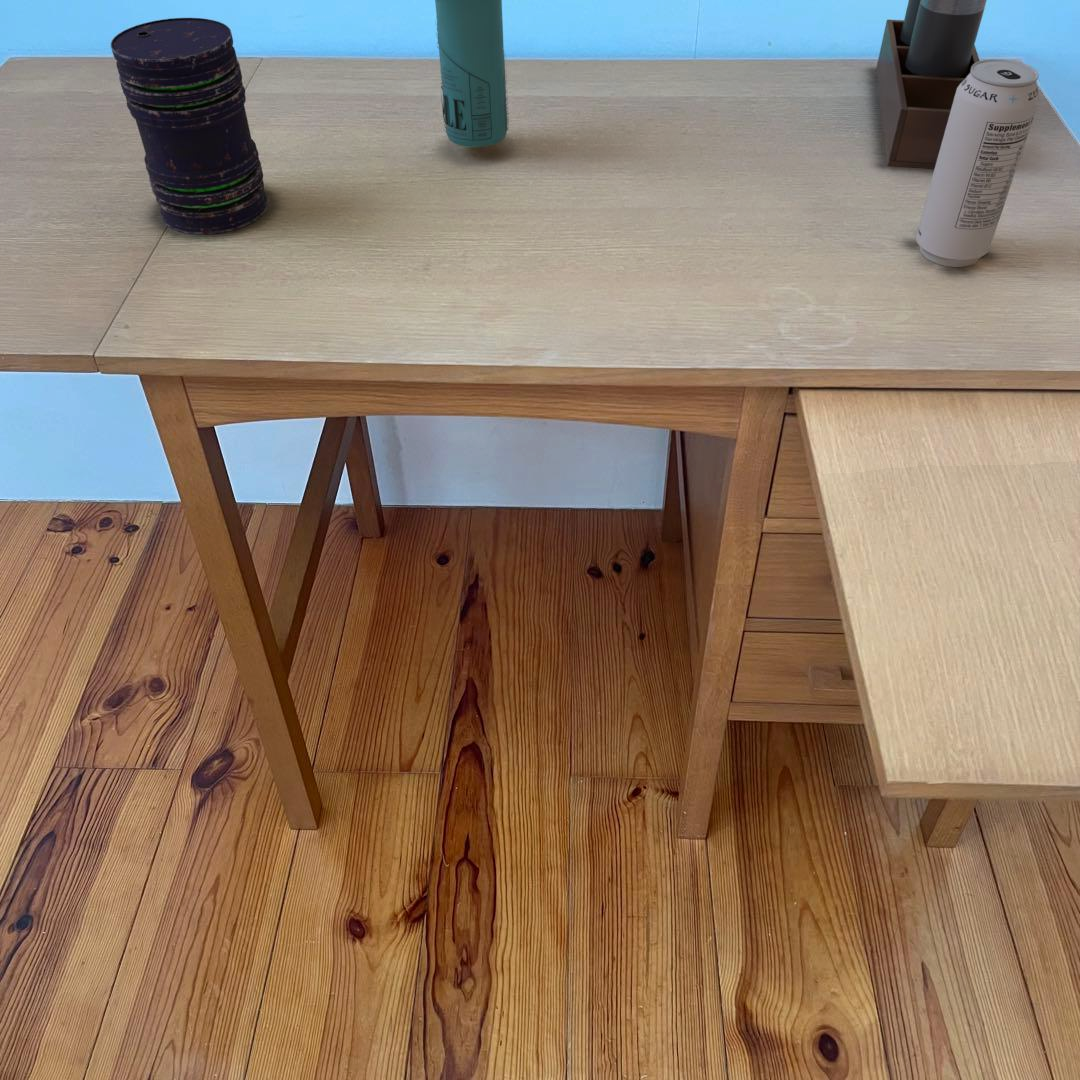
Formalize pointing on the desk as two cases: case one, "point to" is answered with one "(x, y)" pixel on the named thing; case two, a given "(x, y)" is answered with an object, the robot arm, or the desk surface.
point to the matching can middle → (944, 37)
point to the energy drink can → (977, 161)
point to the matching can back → (909, 22)
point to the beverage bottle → (472, 71)
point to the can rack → (912, 104)
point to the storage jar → (192, 123)
